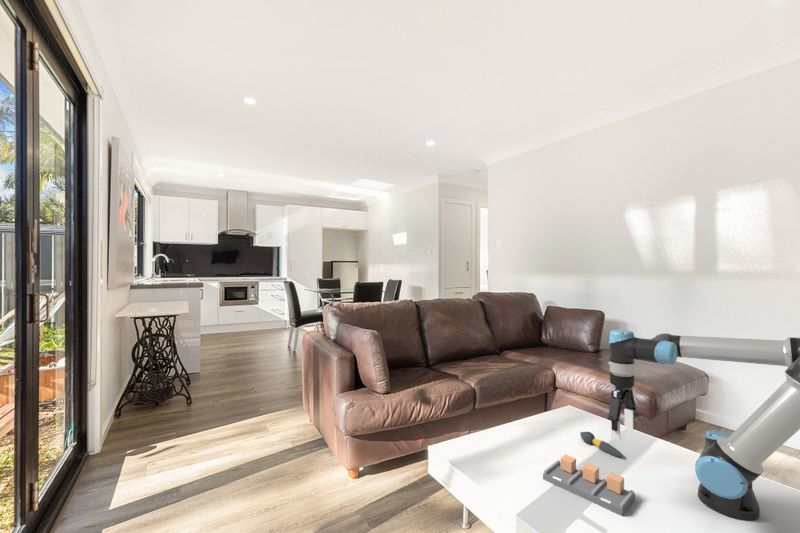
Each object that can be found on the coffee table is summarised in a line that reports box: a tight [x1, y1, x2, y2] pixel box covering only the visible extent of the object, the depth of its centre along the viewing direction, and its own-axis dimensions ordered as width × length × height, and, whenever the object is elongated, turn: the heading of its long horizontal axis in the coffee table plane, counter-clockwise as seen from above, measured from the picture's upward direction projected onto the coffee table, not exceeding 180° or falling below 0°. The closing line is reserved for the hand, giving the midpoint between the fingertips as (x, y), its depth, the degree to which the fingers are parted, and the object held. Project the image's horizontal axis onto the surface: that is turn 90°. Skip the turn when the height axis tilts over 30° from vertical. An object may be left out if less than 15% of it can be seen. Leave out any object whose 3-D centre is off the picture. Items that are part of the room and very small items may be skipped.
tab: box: [606, 472, 625, 494], centre depth 125 cm, size 4×4×4 cm
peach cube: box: [582, 462, 600, 483], centre depth 131 cm, size 4×4×4 cm
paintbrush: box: [579, 431, 624, 458], centre depth 157 cm, size 20×5×5 cm, turn 32°
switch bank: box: [542, 459, 636, 517], centre depth 128 cm, size 26×12×3 cm, turn 41°
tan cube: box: [560, 454, 577, 473], centre depth 137 cm, size 4×4×4 cm
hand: (622, 433), depth 131 cm, fingers open, 13 cm apart
